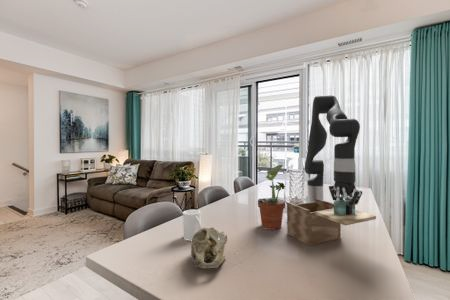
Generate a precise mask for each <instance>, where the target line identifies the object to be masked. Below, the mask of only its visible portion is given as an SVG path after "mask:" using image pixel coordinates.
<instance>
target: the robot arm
mask: <svg viewBox="0 0 450 300" xmlns="http://www.w3.org/2000/svg"><path fill="white" fill-rule="evenodd" d="M320 114H321V115H323V114H324V115H325V114H326V121H327V122H328V124H329V133H330V135H331V136H332V137H334V138H347V139H346V141H344V142H340V143H336V144H335V145H334V147H333V150H334V152H333V153H334V155H333V157H334V158H333V159H334V160H333V182H334V184H333V185H329V186H328V190H329V192H330V196H331V198H332V201H339V200H346V215H351V214H352V206H353V205H355V206H356V205H358V204H359V201H360V199H361V197H362V195H363V191H362V190H358V189H357V188H356V185H355V182H356V160H355V159H356V158H355V153H356V151H355V148H356V143H357V139H358V135H359V133H360V130H361V124H360V122H359V121H358V120H357V119H356V118H348V116H347V115H346V114H345V112H343V110H342V108H341V105H340V104H339V101H338V99H337V97H336V96H335V95H331V94H330V95H329V94H328V95H324V94H323V95H315V96H314V98H313V102H312V110H311V124H310V131H309V136H308V144H307V145H308V146H307V154H306V157H305V162H304V172H305V173H306V174H308V175H316V176H315V177H313V178H311V179H308V180H307V181H306V182H307V196H306V198H305V199H306V202H305V203H309V202H316V199H320V200H323V201H324V176H325V175H324V172H325V162H324V160H322V159H315V157H316V155H318V154H319V153H320V152H321V151H322V150H323V149H324V148H325V146H326V144H327V138H328V132H327V131H326V129H325V127H324V126H323V124H322V123H321V119H320Z"/></svg>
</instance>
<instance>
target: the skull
mask: <svg viewBox="0 0 450 300" xmlns="http://www.w3.org/2000/svg"><path fill="white" fill-rule="evenodd" d="M218 239H219V240H218ZM190 242H191V243H190V249H191V250H190V252H191V253H190V257H191V261H193V263H194V265H195V266H196V267H198V268H201V269H211V268H212V269H217V268H219V267H220V266H221V264H222V263H224V260H225V261H226V259H225V257H226V255H224V252H225V245H226V243H227V242H228V235H227V234H225V232H224V231H221V232H219V231H218V230H217V229H215V227H214V226H213V227H209V228H208V227H201V229H200V230H198V231H197V232H196V233H195V235H194V236H193V238H192V241H190ZM209 259H210V261H212V262H208V263H207V262H206V261H208V260H209ZM204 261H205V262H204Z"/></svg>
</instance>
